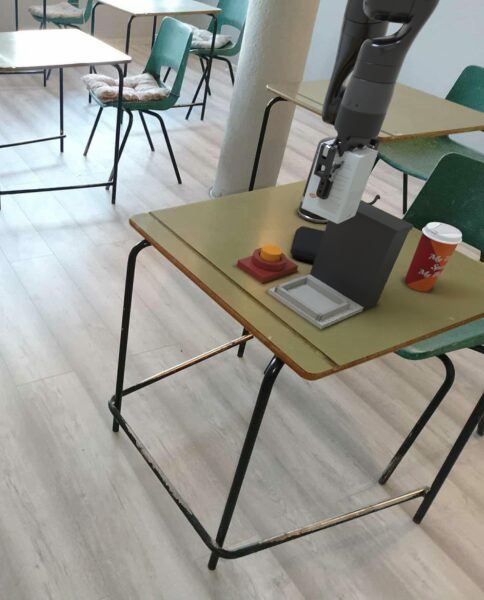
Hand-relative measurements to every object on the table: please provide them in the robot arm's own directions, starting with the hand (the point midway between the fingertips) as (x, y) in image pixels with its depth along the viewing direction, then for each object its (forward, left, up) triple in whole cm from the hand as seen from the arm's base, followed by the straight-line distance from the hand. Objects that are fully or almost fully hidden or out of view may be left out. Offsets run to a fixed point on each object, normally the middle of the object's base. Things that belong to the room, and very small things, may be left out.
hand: (334, 194), depth 107 cm
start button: (-2, -11, -20) cm, 23 cm away
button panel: (-2, -11, -23) cm, 26 cm away
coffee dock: (-4, +3, -23) cm, 24 cm away
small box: (0, 0, -4) cm, 4 cm away
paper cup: (-29, +10, -24) cm, 38 cm away
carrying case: (-19, -11, -24) cm, 32 cm away
